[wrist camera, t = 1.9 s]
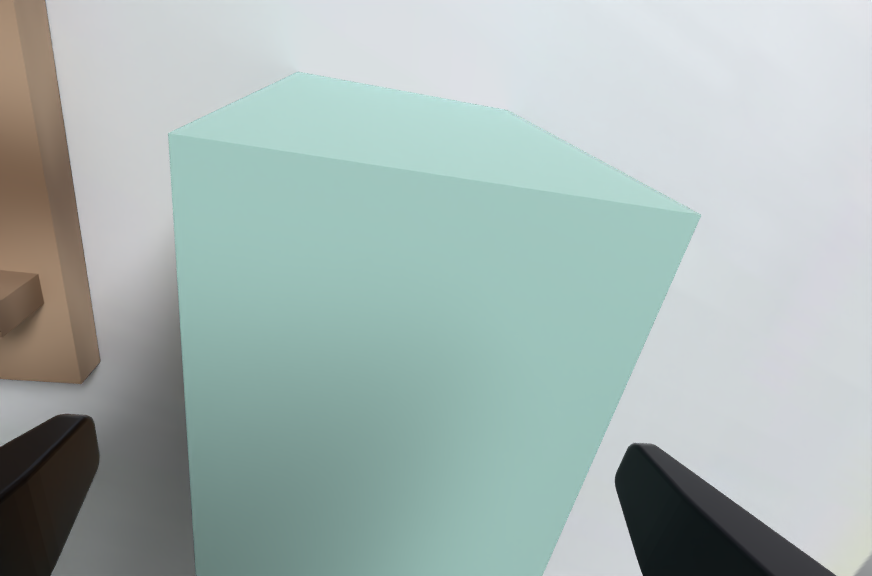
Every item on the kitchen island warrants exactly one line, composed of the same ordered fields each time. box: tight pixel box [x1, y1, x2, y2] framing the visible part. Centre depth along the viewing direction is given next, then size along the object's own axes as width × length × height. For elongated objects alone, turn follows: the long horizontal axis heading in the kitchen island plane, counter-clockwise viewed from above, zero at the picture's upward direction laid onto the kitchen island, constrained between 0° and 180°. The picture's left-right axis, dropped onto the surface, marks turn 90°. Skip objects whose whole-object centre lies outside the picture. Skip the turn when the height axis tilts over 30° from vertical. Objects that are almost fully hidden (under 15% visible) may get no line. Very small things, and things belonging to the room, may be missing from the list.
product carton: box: [168, 72, 701, 576], centre depth 10 cm, size 10×5×8 cm, turn 170°
